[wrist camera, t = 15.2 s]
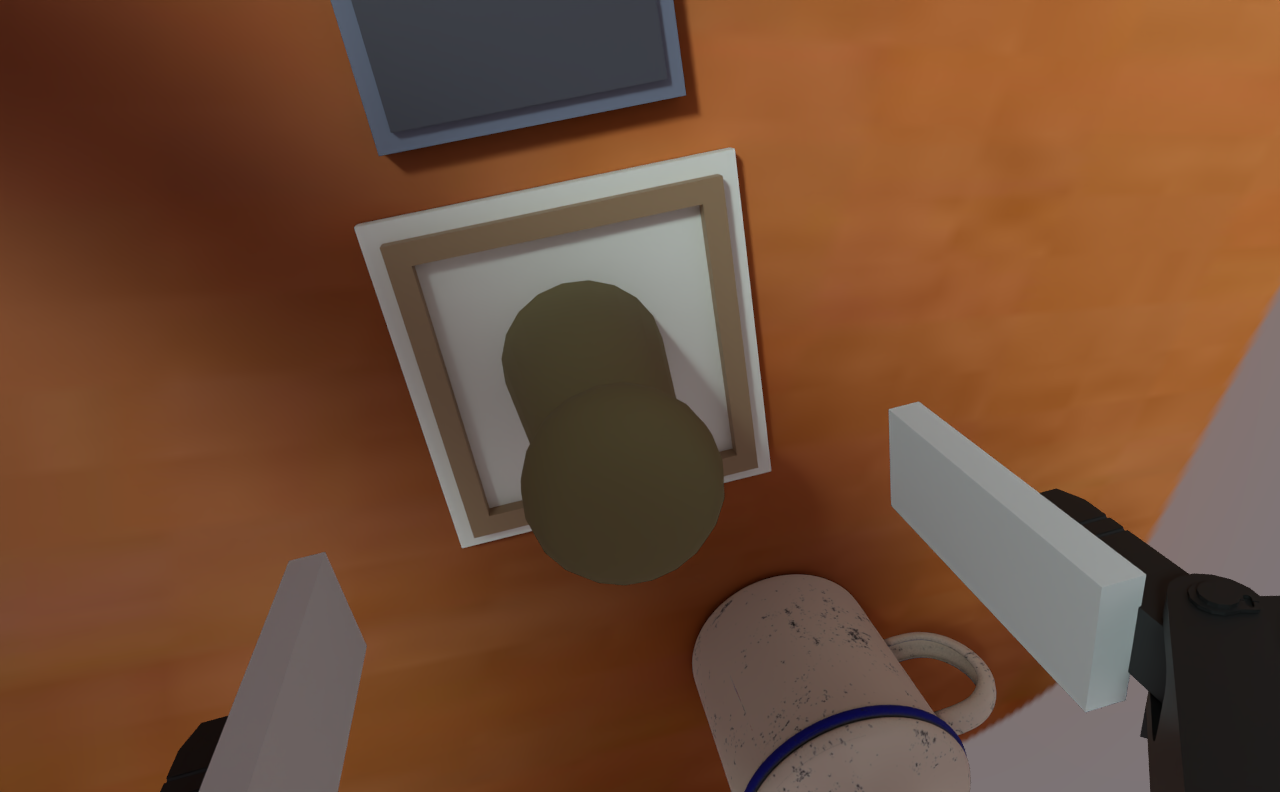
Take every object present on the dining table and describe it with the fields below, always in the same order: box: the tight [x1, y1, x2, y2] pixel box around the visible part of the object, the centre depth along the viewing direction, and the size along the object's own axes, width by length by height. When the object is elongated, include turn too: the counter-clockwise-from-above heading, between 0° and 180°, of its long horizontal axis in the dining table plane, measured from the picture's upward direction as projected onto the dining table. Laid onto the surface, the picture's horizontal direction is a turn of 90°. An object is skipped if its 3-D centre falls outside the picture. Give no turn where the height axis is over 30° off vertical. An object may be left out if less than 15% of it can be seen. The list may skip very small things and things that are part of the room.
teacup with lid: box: [692, 574, 996, 792], centre depth 30 cm, size 12×9×12 cm
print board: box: [354, 147, 771, 548], centre depth 27 cm, size 13×13×1 cm
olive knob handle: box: [502, 280, 724, 585], centre depth 22 cm, size 6×6×11 cm
